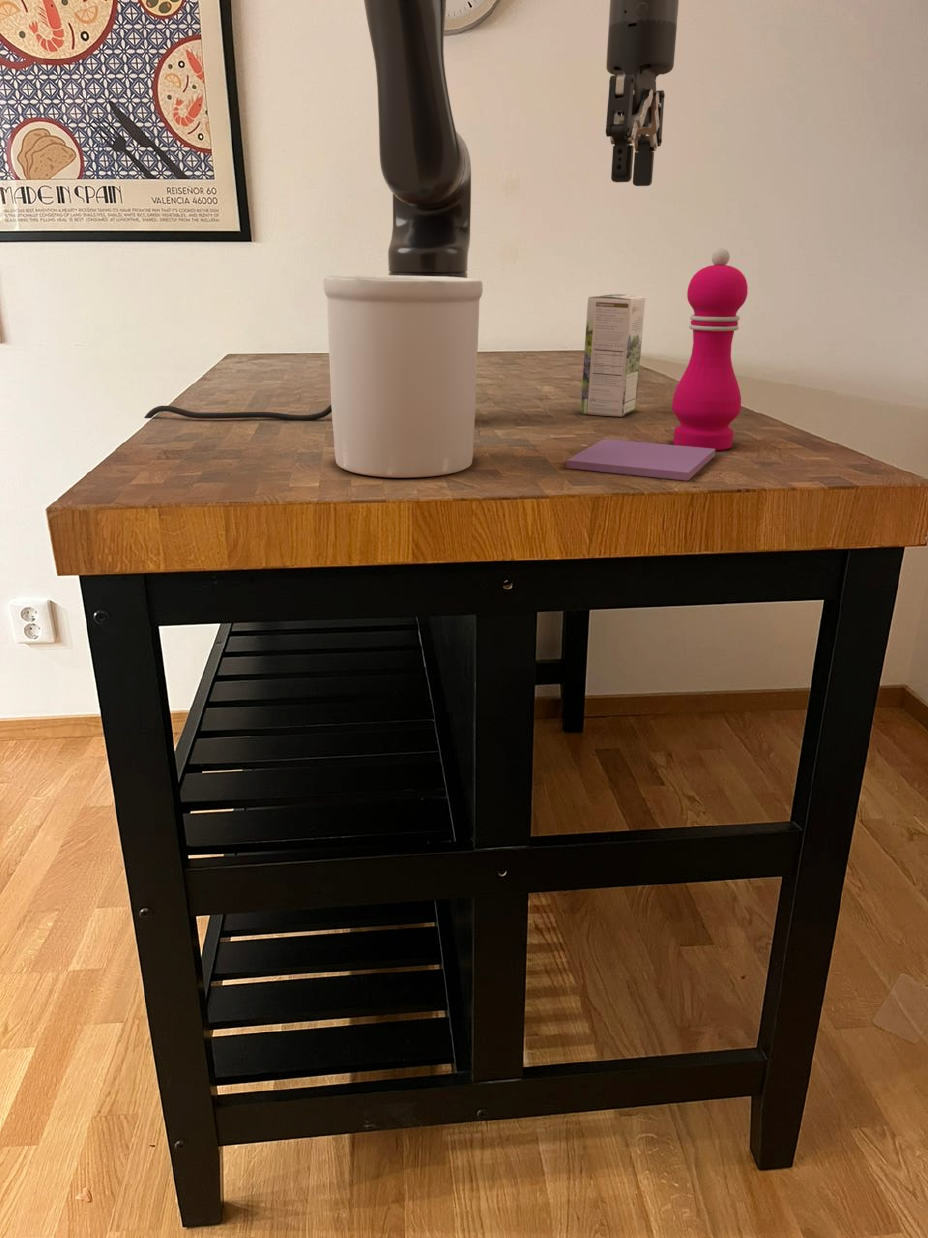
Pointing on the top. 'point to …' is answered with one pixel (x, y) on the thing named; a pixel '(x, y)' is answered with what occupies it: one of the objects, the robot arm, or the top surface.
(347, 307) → the utensil holder
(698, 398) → the pepper mill
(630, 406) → the syrup box
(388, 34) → the robot arm
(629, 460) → the place mat
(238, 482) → the top surface
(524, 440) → the top surface
